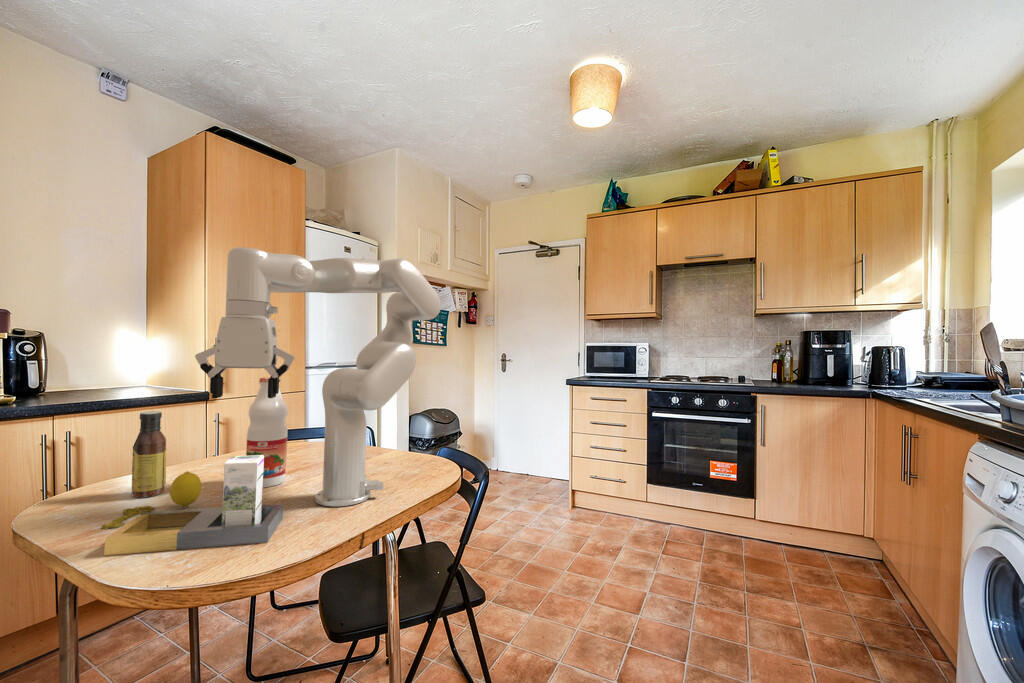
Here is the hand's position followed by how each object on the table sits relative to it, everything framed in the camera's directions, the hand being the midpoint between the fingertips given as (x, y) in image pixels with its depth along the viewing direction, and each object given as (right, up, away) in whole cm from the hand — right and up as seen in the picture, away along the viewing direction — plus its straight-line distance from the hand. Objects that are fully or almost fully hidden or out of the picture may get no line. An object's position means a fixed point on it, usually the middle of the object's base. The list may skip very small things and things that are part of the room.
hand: (244, 397), depth 85 cm
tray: (-6, -26, -3) cm, 27 cm away
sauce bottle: (-34, -26, +18) cm, 47 cm away
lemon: (-20, -26, +11) cm, 35 cm away
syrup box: (0, -27, -1) cm, 27 cm away
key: (-27, -26, +4) cm, 38 cm away
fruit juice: (-13, -27, +29) cm, 42 cm away
